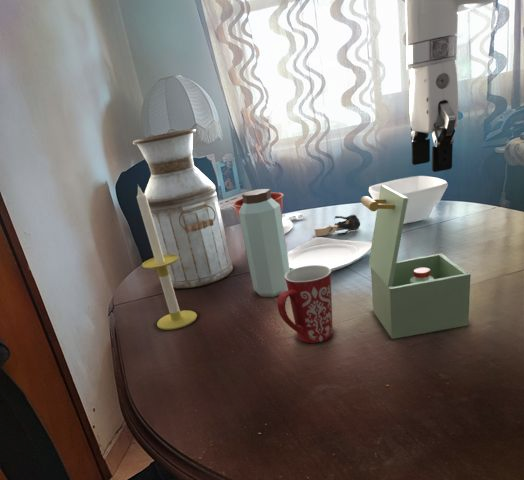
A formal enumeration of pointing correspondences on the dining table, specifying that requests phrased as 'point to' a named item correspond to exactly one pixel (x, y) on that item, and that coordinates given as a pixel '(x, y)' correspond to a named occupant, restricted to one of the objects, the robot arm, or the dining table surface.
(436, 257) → the chest
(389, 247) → the lid
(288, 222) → the spray bottle
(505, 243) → the dining table surface
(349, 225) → the toy figure
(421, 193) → the bowl
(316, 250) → the plate
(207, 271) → the milk can
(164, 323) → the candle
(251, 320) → the dining table surface
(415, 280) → the spice bottle
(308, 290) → the mug
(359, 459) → the dining table surface
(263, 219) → the water bottle
